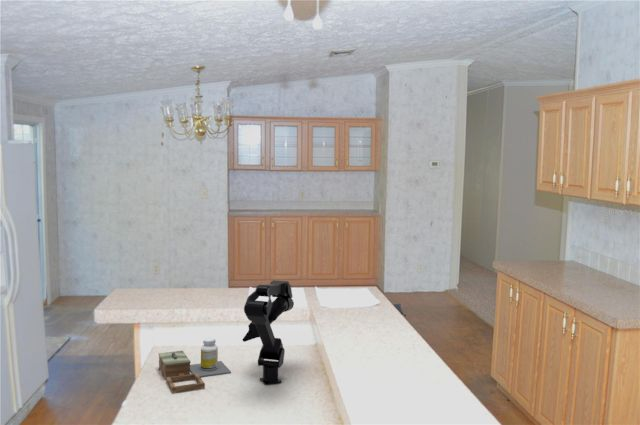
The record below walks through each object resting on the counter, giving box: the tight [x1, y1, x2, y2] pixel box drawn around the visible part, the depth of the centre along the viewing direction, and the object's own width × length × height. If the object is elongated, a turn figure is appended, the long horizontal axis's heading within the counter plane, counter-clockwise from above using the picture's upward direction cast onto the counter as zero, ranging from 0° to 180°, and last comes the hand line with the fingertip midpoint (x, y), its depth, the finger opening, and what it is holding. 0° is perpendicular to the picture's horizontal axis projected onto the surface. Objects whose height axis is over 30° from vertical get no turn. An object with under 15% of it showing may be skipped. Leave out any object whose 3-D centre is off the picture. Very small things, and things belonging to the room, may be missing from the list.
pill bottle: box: [200, 337, 219, 371], centre depth 214 cm, size 6×6×12 cm
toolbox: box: [158, 350, 206, 394], centre depth 204 cm, size 28×11×7 cm, turn 26°
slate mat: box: [190, 360, 232, 379], centre depth 214 cm, size 14×14×1 cm
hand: (245, 337), depth 213 cm, fingers open, 9 cm apart
